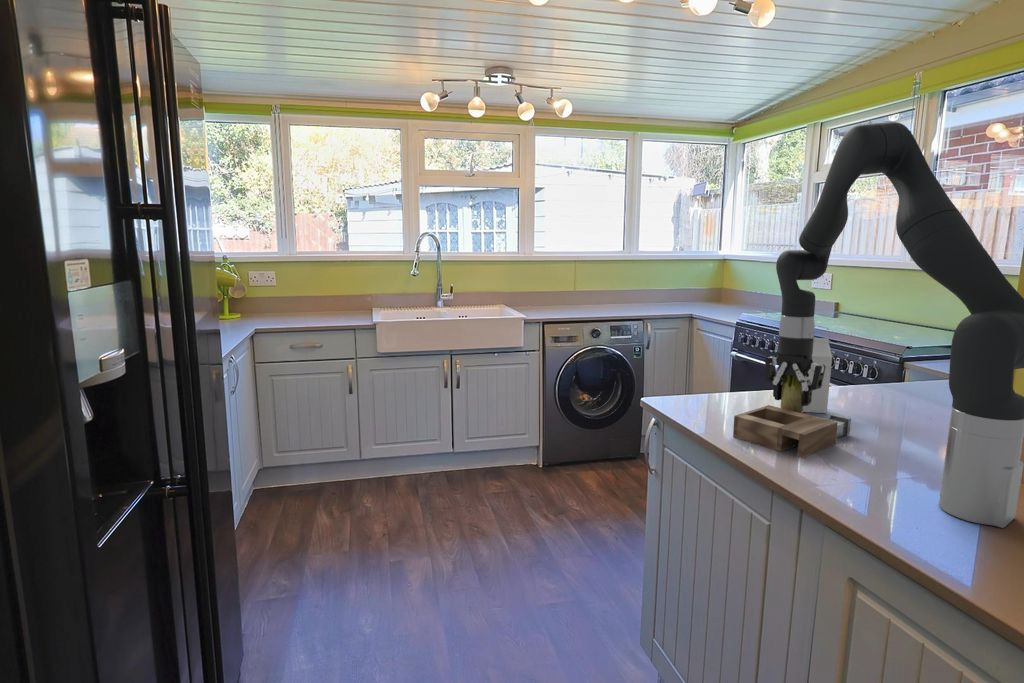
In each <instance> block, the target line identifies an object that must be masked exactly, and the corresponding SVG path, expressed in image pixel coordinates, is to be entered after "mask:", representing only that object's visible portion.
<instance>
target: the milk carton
mask: <svg viewBox="0 0 1024 683" xmlns="http://www.w3.org/2000/svg"><path fill="white" fill-rule="evenodd" d="M812 361H813V363H816V364H819V365H822V364H824V365H825V366H826V368H825V373H824V377H823V382H822V387H821V388H820V389H816V390H813V391H812V399H811V403H810V404H809V405H808V406H803V411H802V413H821V414H827V413H828V406H829V405H828V403H829V392H830V384H831V383H830V382H831V372H832V362H833V354H832V351H831V347H830V339H829V338H824V337H823V338H820V337H819V338H815V337H814V342H813V354H812ZM809 374H810V376H811V382H812V380H813V376H814V372H813V369H812V368H811V369H810V370H809ZM802 391H804V389H803V387H802Z"/></svg>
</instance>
